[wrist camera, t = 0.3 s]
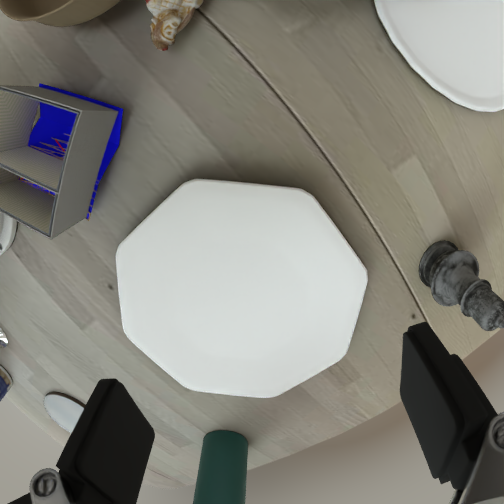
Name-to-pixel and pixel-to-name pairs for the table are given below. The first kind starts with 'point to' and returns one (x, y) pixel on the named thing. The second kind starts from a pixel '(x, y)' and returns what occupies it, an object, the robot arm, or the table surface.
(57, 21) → the bowl
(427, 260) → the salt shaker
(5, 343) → the wineglass
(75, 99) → the grey divided box
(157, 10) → the figurine
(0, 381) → the pill bottle
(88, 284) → the table surface
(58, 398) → the lid
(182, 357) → the plate
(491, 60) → the plate
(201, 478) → the bottle
